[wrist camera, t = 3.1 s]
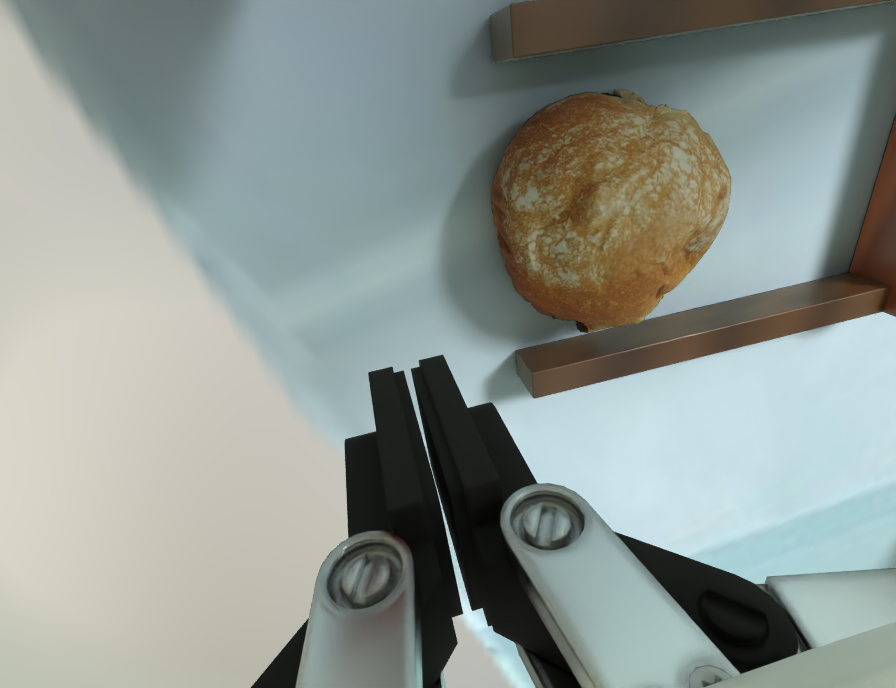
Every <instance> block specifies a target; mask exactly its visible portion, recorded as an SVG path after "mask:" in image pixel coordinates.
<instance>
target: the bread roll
mask: <svg viewBox="0 0 896 688" xmlns="http://www.w3.org/2000/svg"><path fill="white" fill-rule="evenodd" d="M730 191H731V176H730V173H729V170H728V168H727V167H726V165H725V163H724V160H723V158H722V156H721V154H720V152H719V150H718V148H717V147H716V145H715V144H714V142H713V140H712V139H711V137H710V136H709V134H708V133H705V132H703V131H702V130H701V128H700V127H699V125H698V123H697V122H696V121H695V119H694V118H693V117H692V116H691V115H690V114H689V113H688V112H687V110H675V109H671V108H669V107H668V106H667V105H665V106H663V105H662V104H661V105H659V106H657V107H655V106H653V105H650V106H648V105H646V104H645V103H644V100H643V99H641V98H640V97H639V96H638V95H636V94H635V93H634V92H631V91H628V90H614V93H613V94H609V93H602V94H597V93H593V92H586V93H581V94H577V95H571V96H568V97H567V98H565V99H563V100H560V101H558V102H555V103H552V104H550V105H548V106H546V107H544V108H543V109H541V110H539V111H538V112H536V113H535V114H534V115H533V116H532V117H531V118H530V119H529V120H528V121H527V122H526V123H525V124H524V126H523V127H522V128H521V129H520V130H519V131H518V133H517V134H516V135H515V137H514V138H513V140H512V141H511V143H510V144H509V145H508V147H507V149H506V151H505V153H504V155H503V158H502V160H501V162H500V165H499V168H498V170H497V173H496V176H495V178H494V181H493V186H492V192H491V202H492V211H493V214H494V224H495V226H496V228H497V237H498V243H499V246H500V250H501V255H502V257H503V259H504V262H505V267H506V270H507V272H508V274H509V275H510V277H511V280H512V283H513V285H514V288H515V289H516V291H517V292H518V293H519V294H520V295H521V296H522V297H523V298H524V299H525V300H526V301H527V302H531V305H532V306H533V307H534V308H535V309H536V310H537V311H538V312H540V313H542V314H545V315H547V316H549V317H551V318H553V319H561V320H562V321H563V320H567V321H576V322H577V323H576V326H577V329H578V330H579V331H580V332H585V333H589V332H592V331H596V330H600V329H605V328H610V327H616V326H623V325H627V324H630V323H634V324H638V323H640V322H641V321H643V320H644V317H645V316H646V315H648V314H649V313H650V312H651V311H652V310H653V309H654V308H655V307H656V306H657V305H658V303H659V301H660V300H661V299H662V298H663V297H664V296H663V295H664V294H666V293H668V292H670V291H671V290H673V289H674V288H675V287H676V286H677V285H678V284H679V283H680V282H681V281H682V280H683V279H684V278H685V277H686V275H687V274H688V273H689V272H690V271H691V270H692V269H693V268H694V267H695V265H696V264H697V263H698V262H699V260H700V259H701V258H702V256H703V255H704V254H705V253H706V251H707V250H708V249H709V247H710V246H711V244H712V243H713V241H714V239H715V238H716V236H717V234H718V233H719V231H720V229H721V227H722V225H723V223H724V221H725V218H726V216H727V213H728V209H729V201H730Z"/></svg>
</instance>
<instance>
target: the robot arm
mask: <svg viewBox="0 0 896 688" xmlns="http://www.w3.org/2000/svg"><path fill="white" fill-rule="evenodd" d="M419 366H420V367H417V368H413V369H411V372H412V377H413V382H414V386H415V391H416V396H417V401H418V405H419V410H420V415H421V420H422V424H423V429H424V434H425V439H426V443H427V448H428V453H429V458H430V462H431V467H432V471H433V475H434V478H435V482H436V485H437V489H438V492H439V496H440V499H441V503H442V507H443V510H444V514H445V517H446V521H447V524H448V528H449V531H450V535H451V539H452V542H453V546H454V549H455V553H456V556H457V560H458V563H459V567H460V571H461V574H462V578H463V581H464V585H465V588H466V592H467V595H468V599H469V602H470V606H471V609H472V611H474V610H477V609H480V608H483V611H484V614H485V617H486V621H487V624H488V626H491V625H492V627H493V630H494V632H496V633H498V634H500V635H502V636H504V637H505V638H507V639H509V640H511V641H513V642H515V644H516V647H517V650H518V653H519V655H520V657H521V659H522V661H523V663H524V665H525V667H526V669H527V671H528V673H529V675H530V677H531V679H532V681H533V683H534V685H535V687H536V688H896V568H887V569H872V570H858V571H843V572H828V573H813V574H799V575H784V576H769V577H767V578H766V581H765V584H754V583H752V582H750V581H748V580H746V579H744V578H741V577H739V576H737V575H735V574H732V573H729V572H726V571H724V570H721V569H718V568H715V567H712V566H709V565H707V564H704V563H701V562H698V561H695V560H693V559H690V558H687V557H684V556H681V555H678V554H676V553H673V552H670V551H667V550H664V549H662V548H659V547H656V546H653V545H650V544H647V543H645V542H642V541H639V540H636V539H633V538H631V537H628V536H625V535H622V534H619V533H616V532H614V531H613V530H612V529H611V528H610V527H609V526H608V525H607V524H606V523H605V521H604V520H603V519H602V518H601V517H600V516H599V515H598V514H597V513H596V511H595V510H594V509H593V508H592V507H591V506H590V505H589V504H588V502H587V501H586V500H585V499H583V498H582V497H581V496H580V495H579V494H577V493H576V492H575V491H572V490H570V489H568V488H566V487H564V486H560V485H555V484H550V483H546V484H537V482H536V480H535V478H534V476H533V475H532V473H531V471H530V469H529V467H528V465H527V464H526V462H525V460H524V458H523V456H522V455H521V453H520V451H519V449H518V447H517V446H516V444H515V442H514V440H513V438H512V437H511V435H510V433H509V431H508V429H507V428H506V426H505V424H504V422H503V420H502V419H501V417H500V415H499V413H498V411H497V410H496V408H495V406H494V405H493V403H491V402H490V403H486V404H482V405H478V406H474V407H470V408H467V406H466V404H465V402H464V399H463V397H462V395H461V393H460V391H459V388H458V386H457V384H456V382H455V380H454V378H453V375H452V373H451V371H450V369H449V367H448V364H447V362H446V360H445V358H444V356H443V355H440V356H435V357H431V358H427V359H423V360H419ZM368 375H369V382H370V389H371V396H372V404H373V411H374V418H375V425H376V432H372V433H368V434H364V435H360V436H356V437H352V438H348V439H346V440H345V465H346V488H347V514H348V537H349V538H348V539H347V540H345V541H343V542H341V543H340V544H339V545H338V546H337V547H336V548H335V549H334V550H332V551H331V552H330V553H329V555H328V556H327V558H326V559H325V561H324V562H323V564H322V565H321V568H320V570H319V573H318V576H317V579H316V583H315V589H314V594H313V600H312V604H311V610H310V615H309V618H308V620H307V621H306V622H305V623H304V624H303V625H302V627H301V628H300V629H299V630H298V631H297V633H296V634H295V635H294V636H293V637H292V639H291V640H290V641H289V642H288V644H287V645H286V646H285V647H284V648H283V650H282V651H281V652H280V653H279V654H278V656H277V657H276V658H275V659H274V660H273V662H272V663H271V664H270V665H269V666H268V668H267V669H266V670H265V671H264V673H263V674H262V675H261V676H260V677H259V679H258V680H257V681H256V682H255V683H254V685H253V686H252V687H251V688H445V678H444V673H443V669H444V667H445V665H446V663H447V662H448V659H449V658H450V656H451V654H452V652H453V651H454V649H455V647H456V645H457V638H456V634H455V630H454V626H453V621H452V617H455V616H458V615H461V614H463V611H462V606H461V602H460V597H459V592H458V587H457V582H456V578H455V573H454V568H453V563H452V559H451V554H450V549H449V544H448V539H447V535H446V530H445V525H444V520H443V515H442V511H441V506H440V502H439V498H438V494H437V490H436V486H435V482H434V478H433V475H432V471H431V468H430V464H429V461H428V457H427V453H426V450H425V446H424V443H423V439H422V435H421V432H420V428H419V425H418V421H417V417H416V414H415V410H414V407H413V403H412V399H411V396H410V392H409V389H408V385H407V382H406V378H405V374H404V371H400V372H396V373H394V371H393V367H389V368H385V369H380V370H376V371H372V372H368Z"/></svg>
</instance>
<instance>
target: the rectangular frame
mask: <svg viewBox="0 0 896 688" xmlns="http://www.w3.org/2000/svg"><path fill="white" fill-rule="evenodd" d="M891 2H896V0H533V1H526V2H519V3H512V4H510V5H508V6H506V7H505V8H503V9H501V10H499V11H498V12H496V13H494V14H492V15H491V16H490V31H491V44H492V57H493V63H502V62H508V61H515V60H521V59H528V58H534V57H541V56H547V55H554V54H560V53H566V52H573V51H579V50H586V49H592V48H599V47H605V46H612V45H618V44H625V43H631V42H638V41H644V40H651V39H657V38H664V37H670V36H677V35H683V34H690V33H696V32H703V31H709V30H716V29H722V28H729V27H735V26H742V25H748V24H755V23H761V22H768V21H774V20H781V19H787V18H794V17H800V16H807V15H813V14H820V13H826V12H833V11H839V10H846V9H852V8H859V7H865V6H872V5H878V4H885V3H891ZM879 312H885V313H887V314H890V315H893V316H895V317H896V117H895V121H894V124H893V127H892V131H891V134H890V137H889V141H888V144H887V147H886V151H885V154H884V157H883V160H882V164H881V167H880V170H879V174H878V177H877V180H876V184H875V187H874V190H873V194H872V197H871V200H870V204H869V207H868V210H867V214H866V217H865V220H864V224H863V227H862V230H861V234H860V237H859V240H858V243H857V247H856V250H855V253H854V257H853V260H852V263H851V267H850V270H849V273H844V274H840V275H836V276H832V277H827V278H823V279H819V280H814V281H810V282H806V283H802V284H797V285H793V286H789V287H785V288H780V289H776V290H772V291H768V292H763V293H759V294H755V295H751V296H746V297H742V298H738V299H734V300H729V301H725V302H721V303H717V304H712V305H708V306H704V307H700V308H695V309H691V310H687V311H683V312H678V313H674V314H670V315H666V316H661V317H657V318H653V319H649V320H644V321H641V322H640V323H638V324H634V323H631V324H627V325H623V326H619V327H614V328H610V329H606V330H602V331H597V332H593V333H589V334H585V335H580V336H576V337H572V338H568V339H563V340H559V341H555V342H551V343H546V344H542V345H538V346H534V347H529V348H525V349H521V350H517V351H516V365H517V375H518V376H519V378H520V379H521V381H522V382H523V384H524V385H525V387H526V388H527V390H528V391H529V393H530V394H531V395H532V397H533V398H539V397H543V396H547V395H551V394H555V393H559V392H563V391H567V390H571V389H575V388H579V387H583V386H587V385H591V384H595V383H599V382H603V381H607V380H611V379H615V378H619V377H623V376H627V375H631V374H635V373H639V372H643V371H647V370H651V369H655V368H659V367H663V366H667V365H671V364H675V363H679V362H683V361H687V360H691V359H695V358H699V357H703V356H707V355H711V354H715V353H719V352H723V351H727V350H731V349H735V348H739V347H743V346H747V345H751V344H755V343H759V342H763V341H767V340H771V339H775V338H779V337H783V336H787V335H791V334H795V333H799V332H803V331H807V330H811V329H815V328H819V327H823V326H827V325H831V324H835V323H839V322H843V321H847V320H851V319H855V318H859V317H863V316H867V315H871V314H875V313H879Z"/></svg>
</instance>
